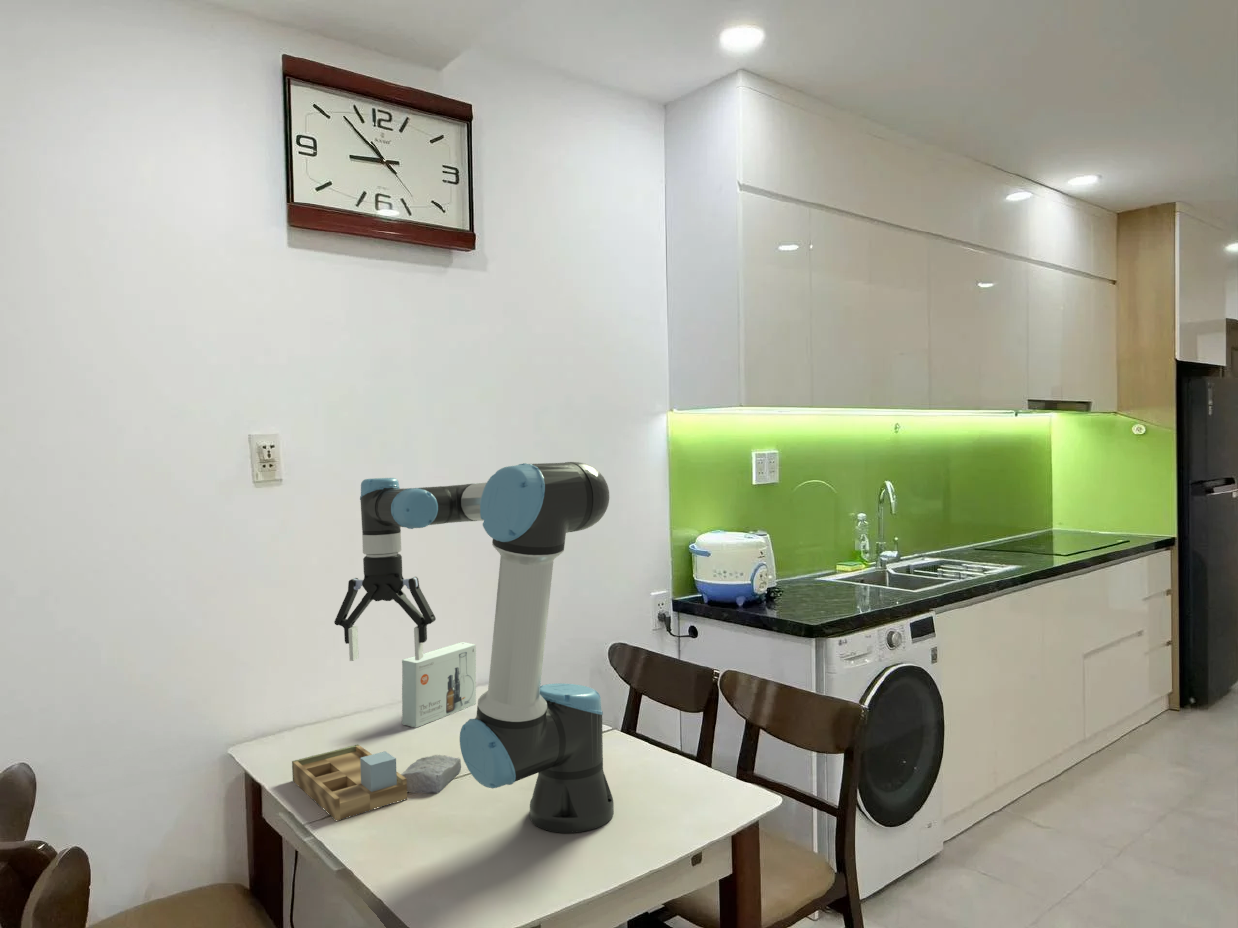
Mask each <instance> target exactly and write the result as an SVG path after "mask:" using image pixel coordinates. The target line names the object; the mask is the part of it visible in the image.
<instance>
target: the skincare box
mask: <svg viewBox="0 0 1238 928" xmlns="http://www.w3.org/2000/svg"><path fill="white" fill-rule="evenodd" d="M401 665H402V668H401V670H402V672H401V673H402V680H401V681H402V683H401V686H402V687H401V701H402V703H401V704H402V706H401V707H402V708H401V709H402V711H401V712H402V715H401V724H402V725H404V726H408V727H412V728H415V729H416V728H419V727H421V726H423V725H426V724H429V723H432V722H434V721H437V720H440V719H441V718H445V717H447V716H449V715H452V714H455V713H457V712H460V711H462V709H463V710H465V709H468V708H470V707H472V706H475V705H476V704H477V644H474V643H471V642H465V641H461V642H457V643H455V644H450V645H447V646H444V647H441V648H438V649H434V650H431V651H428V652H425V653H424V652H423V657H422V658H421V659H420V660H415V655H414V656H410V657H407V658H404V659H402V660H401ZM464 708H465V709H464Z"/></svg>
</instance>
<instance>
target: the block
mask: <svg viewBox="0 0 1238 928" xmlns="http://www.w3.org/2000/svg"><path fill="white" fill-rule="evenodd" d="M360 766H361V784H362V785H363V786H365V787H366V788H367V789H368V790H370V791H371V792H373V791H376V790H380V789H383V788H387V787H390V786H393V785H397V773H396V772H397V758H396V757H395V756H393V755H392V754H390V753H389V752H387V751H385V750H384V751H381V752H377V753H373V754H372V755H369V756H365V757H361V758H360Z"/></svg>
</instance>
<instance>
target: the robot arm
mask: <svg viewBox="0 0 1238 928" xmlns="http://www.w3.org/2000/svg"><path fill="white" fill-rule="evenodd" d="M359 500H360V515H361V530H362V531H361V532H362V553H363V554H364V555H365V556H364V557H363V558H362V560H363V565H362V566H363V576H364V577H363V579H359V577H353V578H351V579H350V580H349V581H348V584H347V585H348V586H347V592H346V594H345V597H344V599H343V601H342V603H341V605H340V608H339V611H337V615H336V617H335V619H334V621H333V622H334V625H336V626H341V627H342V628H343V630H344V631H343V633H344V643H345V645H346V644H348V652H349V653H348V654H349V662H353V661H356V660H357V659H359V657H360V656H359V631H358V629H359V628H358V625H355V622H356V621H358V619H359V618H360V617H361V615H362V613H363V612H364V611H365V610H366V609H367V608H368V607H369V605H370V603H371V602H373V601H374V602H380V601H385V602H390V601H394V602H395V603H396V604H398V605H399V607H401V609H402V610H404V612H405V613H406V614H407V615H408V617H409V618H410V619H411V620H412V621H413V622H414V623H415V624H416V626H415V627H413V634H414V635H413V637H414V641H413V642H414V656H415V660H420V659H421V658H422V657H423V654H424V643H425V642H427V640H428V631H427V629H428V628H427V627H428V625H431V624H433V623H434V622H435V621H436V616H435V614H434V612H433V610H432V609H431V607H430V604H429V603H428V601H427V599H426V596H425V595H424V593H423V590H422V589H421V587H420V583H419V582H420V581H419V578H418V576H413V577H411V578H404V575H403V556H402V555H401V554H400V552H401V551H402V536H401V533H402V531H401V528H405V529H406V528H407V529H409V530H413V529H422V528H426V527H428V526H434V525H442V524H443V525H444V524H452V523H453V524H454V523H464V522H465V523H466V522H480V521H481V522H482V521H483V522H482V527H483V529H484V531H485V532H486V534H487V535H488V536H489V537H490V538H492V546H493V548H494V549H495V551H496V552H498V554H499V555H500V559H499V571H498V579H497V580H498V582H497V593H496V601H495V602H496V603H495V613H494V622H493V623H494V624H493V634H492V645H491V655H490V666H489V677H488V687H487V690H486V691H485V692H484V693H482V694H481V695H480V696H479V698H478V700H477V708H476V717H475V718H469V719H468V720H467V721H465V723H464V724H463V725H462V726H461V728H460V731H459V746H460V747H459V748H460V752H461V753H460V754H461V756H462V759H463V761H464V762H463V763H465V766H466V767H467V769H468V771H469V773H470V774H471V776H472V777H473V778H474V779H475V781H477V782H478V783H479V784H480V785H481V786H484V787H485V788H488V789H497V788H500V787H503V786H506V785H507V786H511V785H513V784H514V783H516V782H518V781H520V780H524V779H525V778H529V777H530V776H533V775H536V774H538V775H537V779H536V782H535V786H534V789H533V791H532V792H533V793H532V797H531V799H530V802H529V818H530V819H529V820H531V822H532V824H534V825H535V826H537V827H538V828H540V829H542V830H544V831H545V830H546V831H548V832H554V833H563V834H565V833H566V834H569V833H570V834H571V833H573V834H574V833H581V832H587V831H591V830H594V829H598V828H599V827H602V826H604V825H606V824H607V823H608V822H610V821H611V819H612V818H613V817H614V811H615V810H614V809H615V808H614V807H615V806H614V804H615V803H614V796H613V795H612V791H611V788H610V786H609V783H608V780H607V776H606V774H605V772H604V756H603V752H604V751H603V744H604V743H603V715H604V713H603V710H602V698H601V695H600V693H599V692H598V691H597V690H596V689H594V688H592V687H590V686H587V685H582V684H575V683H561V682H560V683H548V684H543V685H541V684H542V683H541V681H542V673H543V665H544V663H543V662H544V655H545V654H544V653H545V644H546V633H547V625H548V616H549V607H550V606H549V605H550V597H551V587H552V578H553V569H554V568H553V567H554V560H555V559H556V558H557V557H559V556H560V555H561V554H563V553H564V551H565V542H566V534H568V533H573V532H579V531H583V530H586V529H588V528H591V527H592V526H594V525H596V524H597V523H599V521H600V520H601V519H602V518H603V517H604V515H605V513H606V512H607V510H608V507H609V503H610V489H609V485H608V483H607V481H606V479H605V477H604V476H603V474H602V473H601V472H600V471H598V470H597V469H596V468H595V467H593V466H591V465H589V464H586V463H584V462H579V461H578V462H577V461H567V462H549V463H548V462H544V463H526V462H525V463H519V464H517V465H508V466H505V467H502V468H500V469H498V470H497V471H496V472H495V473H494V474H492V475H491V476H490V478H488V480H487V481H486V482H479V483H478V482H477V483H465V484H456V485H454V484H453V485H444V486H441V485H440V486H425V487H424V486H423V487H410V488H409V487H408V488H400V484H399V480H398V479H397V478H395V477H377V478H366V479H363V480H362V481H361V484H360V497H359ZM404 586H405V587H406V589H408V590H409V591H410V594H411V596H412V598H413V600H414V602H415V604H416V606H417V607H418V609H417V607H416V606H415V605H414V604H413V602H411V600H410V599H409V598H408V597H407V595H406V593H405V592H404V591H403V588H404ZM361 587H363V589H364V590H365V591H366V593H365V594H364V595H363V597H362V598H361V600H360V601H359V603H358V604H357V606H356V607H355V608H354V610H353V611H352V612H351V613H350V614H349V612H350V611H351V607H352V605H353V604H354V601H355V599H356V596H357V595H358V591H359V590H361ZM348 615H349V616H348Z"/></svg>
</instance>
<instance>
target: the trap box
mask: <svg viewBox="0 0 1238 928" xmlns="http://www.w3.org/2000/svg"><path fill="white" fill-rule="evenodd" d="M369 755H373V754H372V753H371V751H368V750H367V749H366V748H364V747H362V746H361V745H360V744H355V745H351V746H347V747H343V748H339V749H334V750H330V751H327V752H323V753H320V754H319V753H318V754H315V755H311V756H308V757H307V756H306V757H303V758H299V759H295V760H292V761H291V768H292V771H291V772H292V781H293V782H294V784H296V785H297V787H299V788H300V789H301V790H302V791H303V792H305V793H306V795H307V796H309V798H310V799H312V800H313V799H314V800H315V801H316V802H317V803H318V804H319V805H320V806H321V807H322V808H324V809H325V810H326V811H327V812H328V813H329V814H330V815H331V816H332V817H333V818H334V819H335V820H339V821H341V820H340V819H342V820H344V819H343V818H345V819H347V818H346V817H348V818H350V817H349V816H352V817H354V816H353V815H355V816H357V815H356V814H358V815H360V814H359V813H361V814H364V813H363V812H365V811H368V812H370V811H369V810H371V811H373V810H372V809H374V808H377V807H381V806H384V805H387V804H390V803H393V802H397V801H401V800H404V799H407V800H408V792H407V779H406V778H405V777H404V776H402V775H401V774H402V773H399V772H398V771H396V773H397V785H393V786H390V787H387V788H383V789H380V790H376V791H373V792H371V791H370V790H368V789H367V788H366V787H365V786H363V785H362V784H361V766H360V758H361V757H365V756H369ZM314 800H313V801H314ZM315 801H314V802H315ZM404 801H405V800H404ZM316 802H315V803H316ZM401 802H402V801H401ZM317 803H316V804H317ZM397 803H398V802H397ZM318 804H317V805H318ZM319 805H318V806H319ZM320 806H319V807H320ZM321 807H320V808H321ZM384 807H385V806H384ZM322 808H321V809H322ZM381 808H382V807H381ZM374 810H375V809H374ZM326 811H325V812H326ZM327 812H326V813H327ZM328 813H327V814H328ZM365 813H366V812H365ZM329 814H328V815H329ZM330 815H329V816H330ZM331 816H330V817H331ZM332 817H331V818H332ZM333 818H332V819H333ZM334 819H333V820H334ZM335 820H334V821H335Z"/></svg>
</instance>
